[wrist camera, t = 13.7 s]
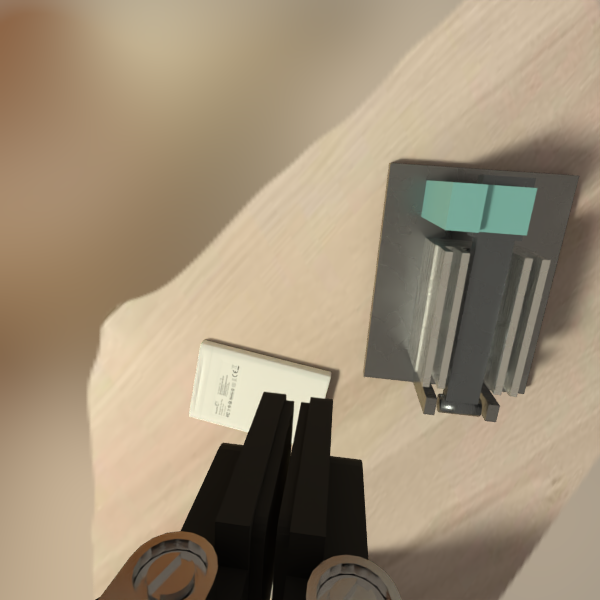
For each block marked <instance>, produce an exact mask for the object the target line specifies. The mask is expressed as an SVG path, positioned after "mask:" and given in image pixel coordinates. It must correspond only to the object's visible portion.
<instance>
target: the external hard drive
mask: <svg viewBox="0 0 600 600" xmlns="http://www.w3.org/2000/svg"><path fill="white" fill-rule="evenodd" d="M330 379H331V372H330V371H326V370H322V369H318V368H314V367H310V366H306V365H302V364H298V363H294V362H290V361H286V360H282V359H278V358H274V357H270V356H267V355H263V354H258V353H255V352H251V351H247V350H243V349H239V348H235V347H231V346H227V345H223V344H219V343H215V342H211V341H208V340H203V342H202V343H201V345H200V350H199V356H198V363H197V369H196V375H195V381H194V386H193V392H192V398H191V404H190V410H189V417H192V418H196V419H200V420H204V421H207V422H211V423H215V424H218V425H222V426H226V427H230V428H233V429H237V430H241V431H245V432H249V429H250V427H251V424H252V421H253V419H254V416H255V413H256V411H257V408H258V405H259V403H260V400H261V397H262V395H263V392H272V393H280V394H286V397H287V399H286V400H289V401H294V416H293V430H292V444H293V442H294V436H295V431H296V426H297V421H298V416H299V410H300V405H301V402H306V403H310V398H311V397H316V398H324V399H325V397H326V393H327V390H328V386H329V382H330Z"/></svg>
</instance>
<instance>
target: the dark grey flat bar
mask: <svg viewBox="0 0 600 600" xmlns="http://www.w3.org/2000/svg"><path fill="white" fill-rule="evenodd" d="M535 181H536V178H524V177H510V176H496V175H478V180H477V184H486V185H500V186H514V187H528V188H534V186H535ZM467 235H469V236H471V237H473V240H472V246H471V251H470V257H469V263H468V268H467V273H466V278H465V284H464V289H463V294H462V299H461V305H460V310H459V315H458V321H457V326H456V331H455V336H454V342H453V347H452V352H451V357H450V363H449V368H448V373H447V378H446V384H445V389H444V390H443V394H438V397H437V411H438V412H442V413H451V414H459V415H468V416H477V417H479V416H480V415H481V412H482V402H481V399H480V393H481V389H482V384H483V380H484V375H485V371H486V367H487V362H488V358H489V353H490V349H491V344H492V340H493V336H494V331H495V327H496V322H497V318H498V313H499V309H500V304H501V300H502V296H503V291H504V287H505V282H506V278H507V273H508V269H509V264H510V260H511V256H512V251H513V247H514V242H515V241H522V238H523V235H514V234H501V233H489V232H479V233H475V232H468V233H467Z"/></svg>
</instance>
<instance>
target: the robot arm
mask: <svg viewBox="0 0 600 600" xmlns="http://www.w3.org/2000/svg"><path fill="white" fill-rule="evenodd" d="M286 399H287V397H286V394H280V393H272V392H263V395H262V397H261V400H260V403H259V405H258V408H257V411H256V413H255V416H254V419H253V421H252V424H251V427H250V429H249V432H248V435H247V437H246V440H245V443H244V445H237V444H229V443H222V444H221V446H220V447H219V449H218V451H217V453H216V456H215V458H214V460H213V462H212V464H211V466H210V469H209V471H208V473H207V475H206V477H205V479H204V482H203V484H202V486H201V488H200V490H199V492H198V495H197V497H196V499H195V501H194V503H193V506H192V508H191V510H190V512H189V514H188V516H187V519H186V521H185V523H184V525H183V527H182V529H181V531H178V532H170V533H165V534H162V535H160V536H157V537H154V538H152V539H151V540H149V541H148V542H146V543H144V544H143V545H141V546H140V547H139V548H138V549H137V550H136V551H135V552H134V553H133V554H132V555H131V557H130V558H129V559H128V560H127V562H126V563H125V564H124V566H123V567H122V569H121V570H120V571H119V573H118V574H117V575H116V577H115V578H114V579H113V581H112V582H111V583H110V585H109V586H108V587H107V589H106V590H105V591H104V593H103V594H102V595H101V597H99V598H98V599H96V600H270V598H271V600H402V599H401V596H400V594H399V592H398V590H397V587H396V585H395V583H394V582H393V580H392V579H391V578H390V577H389V575H388V574H387V573H386V572H385V571H384V570H383V569H381V568H380V567H379V566H377V565H376V564H375V563H373V562H371V561H369V560H368V547H367V531H366V515H365V498H364V482H363V466H362V460H358V459H350V458H341V457H333V456H330V447H331V428H332V409H333V399H324V398H316V397H311V398H310V403H306V402H301V405H300V410H299V416H298V421H297V426H296V431H295V436H294V442H293V447H292V452H291V444H292V430H293V416H294V401H289V400H286Z"/></svg>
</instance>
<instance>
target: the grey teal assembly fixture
mask: <svg viewBox="0 0 600 600" xmlns="http://www.w3.org/2000/svg"><path fill="white" fill-rule="evenodd" d="M478 175H496V176H510V177H524V178H536V181H535V186H534V188H537V192H536V197H535V201H534V205H533V210H532V214H531V219H530V223H529V227H528V232H527V236H526V235H523V238H522V241H515V242H514V247H513V251H512V256H511V260H510V264H509V269H508V273H507V278H506V282H505V287H504V291H503V296H502V300H501V304H500V309H499V313H498V318H497V322H496V327H495V331H494V336H493V340H492V344H491V349H490V353H489V358H488V362H487V367H486V371H485V375H484V380H483V384H482V389H481V393H480V399H481V402H482V412H481V415H482V416H483V418H484V420H485V421H490V422H496V420H497V416H498V412H499V407H500V405H499V404H498V402H497V401H496V399H495V398H494V396H493V395H492V393H491V392H490V390H491V391H492V392H493V394H495V395H501V393H502V392H507V393H508V395H509V396H513V397H517V394H518V393H520V394H524V392H525V388H526V384H527V380H528V376H529V372H530V368H531V364H532V360H533V356H534V352H535V348H536V344H537V341H538V337H539V333H540V329H541V325H542V321H543V317H544V313H545V309H546V305H547V301H548V297H549V293H550V289H551V285H552V281H553V277H554V273H555V269H556V266H557V262H558V258H559V254H560V250H561V246H562V242H563V238H564V234H565V230H566V226H567V222H568V218H569V214H570V210H571V206H572V202H573V198H574V194H575V191H576V187H577V183H578V179H579V176H574V175H560V174H545V173H531V172H516V171H501V170H487V169H472V168H458V167H443V166H429V165H414V164H400V163H389V169H388V178H387V186H386V194H385V202H384V210H383V218H382V226H381V234H380V242H379V250H378V258H377V266H376V274H375V282H374V290H373V298H372V306H371V314H370V322H369V330H368V338H367V346H366V354H365V362H364V370H363V373H364V377H373V378H382V379H391V380H400V381H409V382H413V383H414V386H415V389H416V392H417V396H418V399H419V402H420V405H421V408H422V411H423V414H429V415H434V413H435V408H436V402H437V397H436V395H435V392H434V390H433V388H432V385H431V384H436V386H437V388H440V389H445V384H446V378H447V373H448V368H449V363H450V357H451V352H452V347H453V342H454V336H455V331H456V326H457V321H458V315H459V310H460V305H461V299H462V294H463V289H464V284H465V278H466V273H467V268H468V263H469V257H470V251H471V246H472V240H473V237H471V236H469V235H467V233H468V232H463V231H451V230H444V229H442V228H441V227H439V226H437V225H435V224H433V223H432V222H430V221H428V220H426V219H424V218H422V217H421V215H422V208H423V202H424V195H425V188H426V182H427V180H429V181H444V182H458V183H472V184H477V180H478Z"/></svg>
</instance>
